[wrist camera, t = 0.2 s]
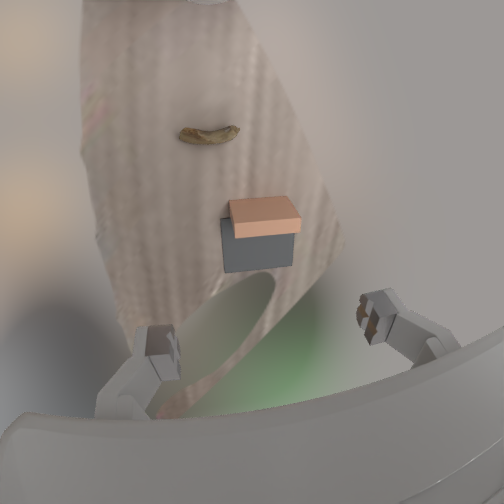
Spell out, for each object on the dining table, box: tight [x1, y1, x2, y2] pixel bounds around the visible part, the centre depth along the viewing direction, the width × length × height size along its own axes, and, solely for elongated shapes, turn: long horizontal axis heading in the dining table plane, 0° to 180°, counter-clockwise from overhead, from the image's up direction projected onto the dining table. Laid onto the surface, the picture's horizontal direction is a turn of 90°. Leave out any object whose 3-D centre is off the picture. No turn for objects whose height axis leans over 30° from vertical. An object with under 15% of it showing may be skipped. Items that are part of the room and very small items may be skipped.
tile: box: [229, 196, 301, 238], centre depth 57 cm, size 3×12×10 cm, turn 91°
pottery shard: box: [179, 126, 240, 144], centre depth 47 cm, size 11×4×10 cm, turn 86°
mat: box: [221, 218, 294, 273], centre depth 66 cm, size 14×16×1 cm
